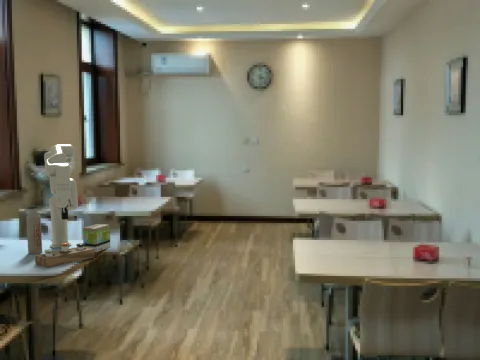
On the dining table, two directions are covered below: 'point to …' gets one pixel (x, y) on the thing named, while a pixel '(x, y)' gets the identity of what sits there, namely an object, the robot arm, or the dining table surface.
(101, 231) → the tea box
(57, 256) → the socket block
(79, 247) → the plug
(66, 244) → the plug mid
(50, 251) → the plug
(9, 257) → the dining table surface
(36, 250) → the thermos bottle
